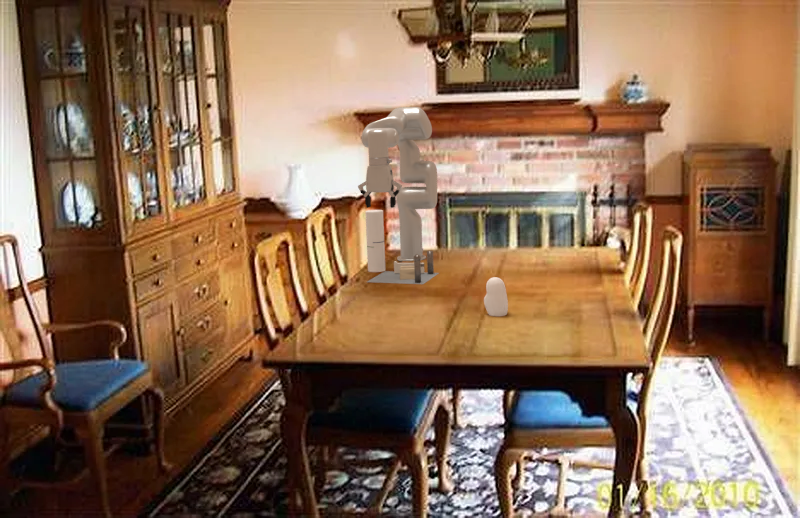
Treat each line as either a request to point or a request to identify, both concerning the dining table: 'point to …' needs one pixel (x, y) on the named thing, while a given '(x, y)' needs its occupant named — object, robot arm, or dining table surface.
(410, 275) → the block
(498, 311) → the figurine
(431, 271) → the gate posts
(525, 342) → the dining table surface
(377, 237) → the cylindrical container
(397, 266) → the gate
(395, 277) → the slate mat
